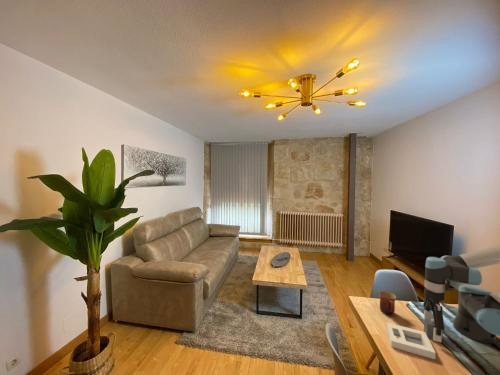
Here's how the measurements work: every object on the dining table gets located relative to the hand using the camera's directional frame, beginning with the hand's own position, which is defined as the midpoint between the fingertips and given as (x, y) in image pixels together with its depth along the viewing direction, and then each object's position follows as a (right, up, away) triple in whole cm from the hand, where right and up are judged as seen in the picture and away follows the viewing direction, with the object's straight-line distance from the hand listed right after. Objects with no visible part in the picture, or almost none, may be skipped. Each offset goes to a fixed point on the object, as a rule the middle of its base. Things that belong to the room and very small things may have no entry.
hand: (431, 331), depth 104 cm
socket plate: (-15, -2, -4) cm, 15 cm away
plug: (0, -2, 0) cm, 2 cm away
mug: (-10, -2, +18) cm, 21 cm away
